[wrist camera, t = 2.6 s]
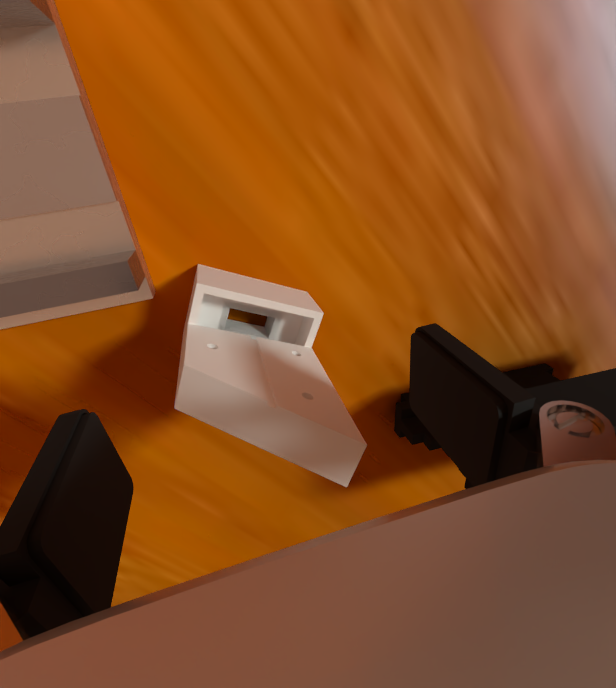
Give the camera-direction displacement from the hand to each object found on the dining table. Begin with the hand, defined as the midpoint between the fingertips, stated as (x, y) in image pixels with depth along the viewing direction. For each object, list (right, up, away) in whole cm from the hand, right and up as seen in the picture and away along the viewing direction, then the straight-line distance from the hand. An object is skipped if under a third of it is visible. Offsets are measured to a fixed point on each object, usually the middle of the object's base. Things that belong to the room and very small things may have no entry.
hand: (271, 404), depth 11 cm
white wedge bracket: (-2, +4, +9) cm, 10 cm away
